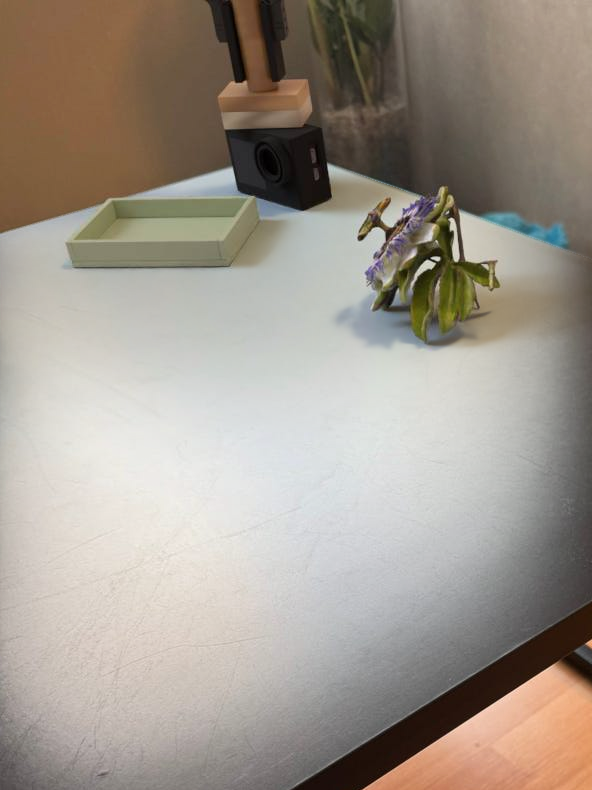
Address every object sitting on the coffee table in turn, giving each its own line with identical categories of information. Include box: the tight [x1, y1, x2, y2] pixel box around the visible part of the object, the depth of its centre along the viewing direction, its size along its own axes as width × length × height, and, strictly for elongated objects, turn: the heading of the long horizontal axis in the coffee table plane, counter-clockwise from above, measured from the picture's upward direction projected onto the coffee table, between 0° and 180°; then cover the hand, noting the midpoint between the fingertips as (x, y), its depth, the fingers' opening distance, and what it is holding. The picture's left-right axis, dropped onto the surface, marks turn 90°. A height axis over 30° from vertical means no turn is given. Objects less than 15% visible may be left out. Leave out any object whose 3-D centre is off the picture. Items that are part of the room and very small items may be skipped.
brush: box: [217, 0, 313, 130], centre depth 98 cm, size 8×5×12 cm, turn 85°
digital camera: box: [224, 123, 333, 211], centre depth 104 cm, size 10×5×7 cm, turn 50°
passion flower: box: [356, 185, 501, 345], centre depth 82 cm, size 11×11×12 cm
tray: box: [64, 195, 261, 268], centre depth 97 cm, size 15×11×2 cm
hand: (260, 78), depth 99 cm, fingers closed on brush, 3 cm apart
